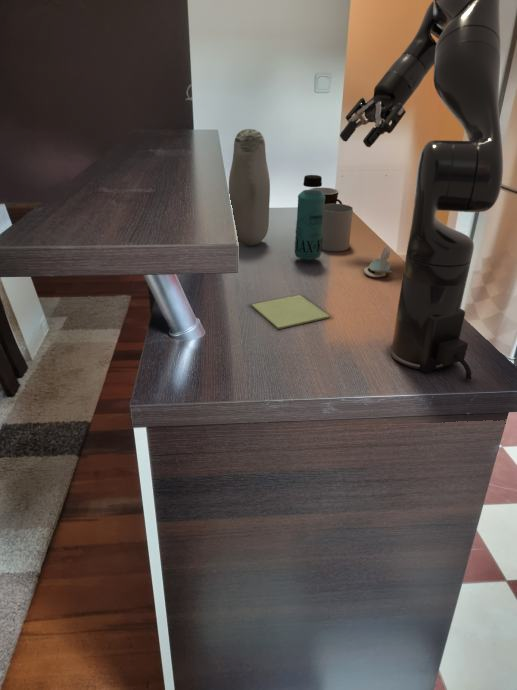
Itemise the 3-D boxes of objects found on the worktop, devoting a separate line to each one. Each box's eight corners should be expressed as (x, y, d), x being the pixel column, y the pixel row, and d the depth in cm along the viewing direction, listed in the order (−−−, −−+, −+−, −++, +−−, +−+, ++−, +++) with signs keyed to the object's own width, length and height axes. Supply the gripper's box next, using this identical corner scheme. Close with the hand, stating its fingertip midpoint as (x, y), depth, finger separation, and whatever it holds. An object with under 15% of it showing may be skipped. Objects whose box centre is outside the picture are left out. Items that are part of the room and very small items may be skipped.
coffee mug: (302, 222, 154) (304, 187, 149) (330, 220, 155) (333, 187, 150) (313, 233, 144) (315, 197, 139) (343, 232, 145) (346, 196, 140)
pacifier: (365, 280, 114) (393, 280, 114) (368, 252, 111) (396, 252, 111) (362, 268, 120) (388, 268, 120) (364, 242, 117) (390, 242, 117)
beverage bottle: (288, 260, 124) (291, 175, 115) (307, 254, 128) (312, 171, 118) (307, 267, 120) (312, 179, 110) (326, 261, 124) (333, 176, 114)
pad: (329, 317, 97) (329, 315, 97) (278, 329, 93) (278, 327, 92) (299, 296, 105) (299, 294, 105) (251, 306, 101) (251, 304, 101)
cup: (348, 252, 130) (352, 212, 125) (316, 250, 131) (318, 211, 126) (348, 242, 137) (352, 204, 132) (318, 240, 138) (320, 202, 133)
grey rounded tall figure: (224, 240, 137) (222, 127, 124) (259, 236, 141) (260, 126, 127) (238, 251, 130) (236, 132, 116) (274, 247, 133) (277, 130, 119)
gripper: (371, 68, 117) (326, 126, 118) (415, 71, 106) (365, 134, 108) (386, 93, 122) (343, 148, 123) (430, 97, 111) (382, 158, 113)
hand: (353, 141), depth 115 cm, fingers open, 8 cm apart
